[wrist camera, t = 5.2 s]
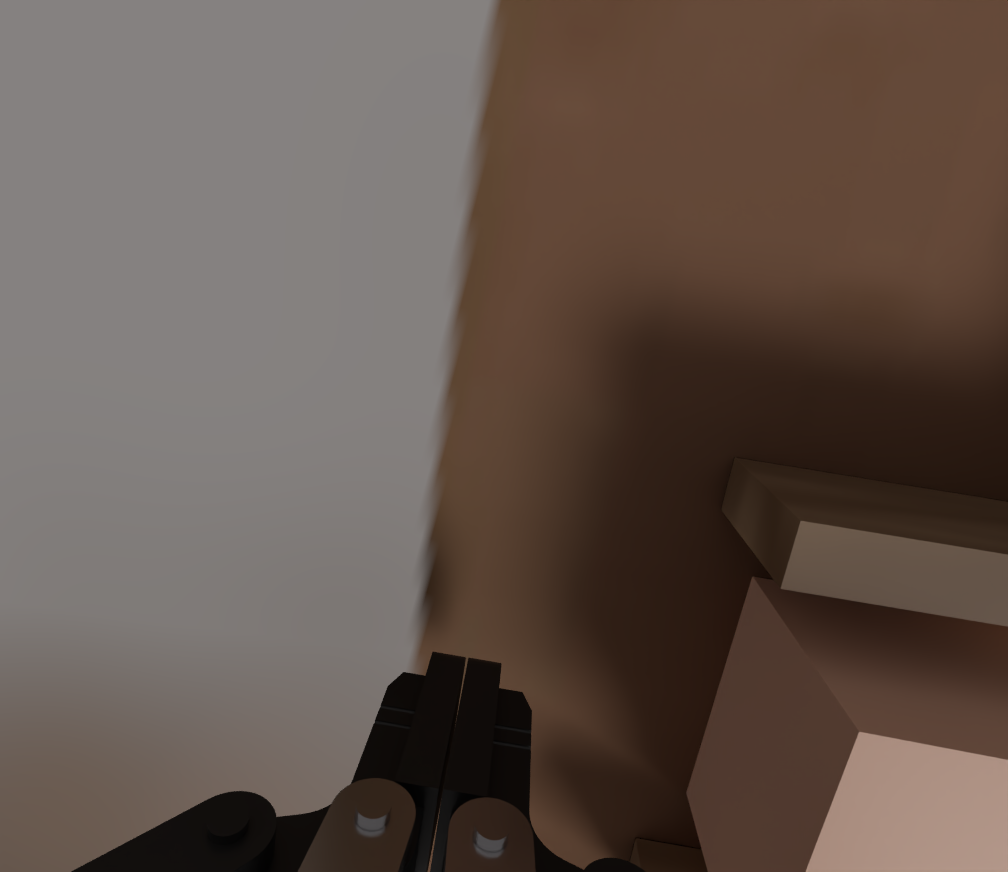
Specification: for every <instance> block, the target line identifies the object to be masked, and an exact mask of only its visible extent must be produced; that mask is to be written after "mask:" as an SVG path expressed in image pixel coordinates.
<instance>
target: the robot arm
mask: <svg viewBox="0 0 1008 872" xmlns="http://www.w3.org/2000/svg"><path fill="white" fill-rule="evenodd" d="M465 660H466V657H461V656H455V655H449V654H443V653H437V652H433V653H432V656H431V659H430V662H429V666H428V669H427V673H426V676H424V675H418V674H412V673H406V672H403V673H402V674H401V675H400V676H399V677H398V678H397V679H395V680H394V681H393V682H392V683H391V684H390V685H389V686H388V687H387V690H386V693H385V695H384V698H383V701H382V703H381V707H380V709H379V711H378V714H377V717H376V720H375V723H374V725H373V727H372V730H371V733H370V735H369V738H368V741H367V743H366V746H365V749H364V751H363V754H362V756H361V759H360V762H359V764H358V767H357V770H356V772H355V775H354V778H353V780H352V782H351V784H350V785H348V786H347V787H345V788H344V789H343V790H341V791H340V792H339V793H338V795H337V796H336V797H335V799H334V800H333V802H332V804H330V805H329V806H327V807H325V808H323V809H321V810H318V811H315V812H311V813H306V814H299V815H290V816H282V817H276V813H275V810H274V808H273V806H272V805H271V803H270V802H269V801H268V800H267V799H265V798H264V797H262V796H260V795H258V794H255V793H251V792H244V791H236V792H235V791H234V792H228V793H223V794H220V795H217V796H214V797H212V798H210V799H208V800H206V801H204V802H202V803H200V804H198V805H196V806H194V807H193V808H191V809H189V810H187V811H185V812H183V813H181V814H179V815H177V816H176V817H174V818H172V819H170V820H168V821H166V822H164V823H162V824H160V825H159V826H157V827H155V828H153V829H151V830H149V831H147V832H145V833H143V834H141V835H140V836H138V837H136V838H134V839H132V840H130V841H128V842H126V843H124V844H123V845H121V846H119V847H117V848H115V849H113V850H111V851H109V852H107V853H106V854H104V855H102V856H100V857H98V858H96V859H94V860H92V861H91V862H89V863H87V864H85V865H83V866H81V867H79V868H77V869H75V870H74V871H72V872H427V871H428V866H429V861H430V856H431V851H432V845H433V840H434V835H435V830H436V825H437V819H438V814H439V819H438V825H437V832H436V838H435V845H434V851H433V858H432V864H431V871H430V872H646V871H644V870H643V869H642V868H640V867H638V866H637V865H635V864H633V863H631V862H628V861H626V860H622V859H617V858H603V859H599V860H596V861H594V862H592V863H591V864H589V865H588V866H587V867H586V868H585V869H584V870H583V869H581V868H579V867H577V866H575V865H573V864H571V863H569V862H567V861H565V860H563V859H561V858H560V857H558V856H556V855H555V854H554V853H552V852H551V851H550V850H549V849H548V848H546V847H545V846H544V845H543V843H542V842H541V841H540V840H539V838H538V837H537V835H536V833H535V832H534V830H533V827H532V825H531V821H530V816H529V798H530V759H531V750H530V748H531V720H532V710H531V708H530V706H529V704H528V702H527V700H526V698H525V696H524V695H523V693H522V692H518V691H512V690H506V689H501V688H499V683H500V673H501V663H497V662H491V661H485V660H479V659H473V658H468V663H467V668H466V674H465V679H464V684H463V689H462V694H461V699H460V692H461V686H462V679H463V673H464V667H465ZM459 699H460V705H459ZM458 705H459V710H458ZM457 712H458V715H457ZM456 718H457V720H456ZM455 724H456V725H455ZM441 799H442V800H441ZM440 804H441V806H440ZM439 809H440V812H439Z"/></svg>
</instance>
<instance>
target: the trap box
mask: <svg viewBox="0 0 1008 872" xmlns="http://www.w3.org/2000/svg"><path fill="white" fill-rule="evenodd" d="M721 511H722V512H723V513H724V515H725V516H726V517H727V519H728V520H729V521H730V523H731V524H732V525H733V526H734V528H735V529H736V530H737V532H738V533H739V534H740V536H741V537H742V538H743V540H744V541H745V542H746V544H747V545H748V546H749V548H750V549H751V550H752V552H753V553H754V554H755V556H756V557H757V558H758V560H759V561H760V562H761V564H762V565H763V566H764V568H765V569H766V570H767V572H768V573H769V574H770V576H771V577H772V578H773V579H774V581H775V582H776V583H777V585H778V586H779V587H780V589H785V590H791V591H797V592H803V593H809V594H815V595H821V596H827V597H833V598H839V599H845V600H851V601H857V602H863V603H869V604H875V605H881V606H887V607H893V608H899V609H905V610H911V611H917V612H923V613H929V614H935V615H941V616H947V617H953V618H959V619H965V620H971V621H977V622H983V623H989V624H995V625H1001V626H1007V627H1008V502H1006V501H1000V500H994V499H988V498H982V497H976V496H969V495H963V494H957V493H951V492H945V491H939V490H932V489H926V488H920V487H914V486H908V485H902V484H895V483H889V482H883V481H877V480H871V479H865V478H858V477H852V476H846V475H840V474H834V473H828V472H821V471H815V470H809V469H803V468H797V467H791V466H784V465H778V464H772V463H766V462H760V461H754V460H747V459H741V458H734V462H733V465H732V469H731V473H730V477H729V481H728V485H727V489H726V492H725V496H724V500H723V504H722V508H721ZM630 862H631V863H633V864H635V865H637V866H638V867H640V868H642V869H643V870H644V871H646V872H708V871H707V867H706V863H705V860H704V856H703V852H702V850H701V849H695V848H690V847H684V846H678V845H673V844H667V843H661V842H655V841H650V840H644V839H638V838H636V839H635V843H634V847H633V851H632V855H631V859H630Z"/></svg>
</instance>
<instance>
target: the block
mask: <svg viewBox="0 0 1008 872" xmlns="http://www.w3.org/2000/svg"><path fill="white" fill-rule="evenodd" d="M686 794H687V797H688V801H689V805H690V808H691V812H692V816H693V819H694V823H695V827H696V830H697V834H698V838H699V841H700V845H701V849H702V852H703V856H704V860H705V863H706V867H707V871H708V872H1008V627H1007V626H1001V625H995V624H989V623H983V622H977V621H971V620H965V619H959V618H953V617H947V616H941V615H935V614H929V613H923V612H917V611H911V610H905V609H899V608H893V607H887V606H881V605H875V604H869V603H863V602H857V601H851V600H845V599H839V598H833V597H827V596H821V595H815V594H809V593H803V592H797V591H791V590H785V589H780V587H779V586H778V585H777V583H776V582H775V581H774V580H770V579H765V578H759V577H754V576H752V579H751V582H750V586H749V589H748V592H747V596H746V599H745V602H744V605H743V609H742V612H741V615H740V619H739V622H738V625H737V628H736V632H735V635H734V638H733V641H732V645H731V648H730V651H729V655H728V658H727V661H726V664H725V668H724V671H723V674H722V677H721V681H720V684H719V687H718V691H717V694H716V697H715V700H714V704H713V707H712V710H711V713H710V717H709V720H708V723H707V727H706V730H705V733H704V736H703V740H702V743H701V746H700V750H699V753H698V756H697V759H696V763H695V766H694V769H693V772H692V776H691V779H690V782H689V786H688V789H687V792H686Z"/></svg>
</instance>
